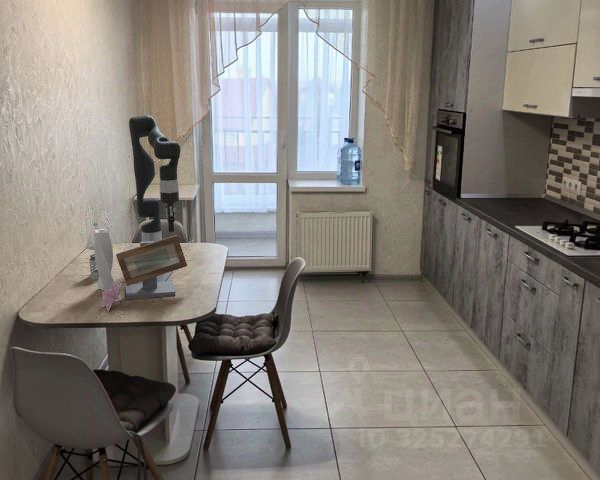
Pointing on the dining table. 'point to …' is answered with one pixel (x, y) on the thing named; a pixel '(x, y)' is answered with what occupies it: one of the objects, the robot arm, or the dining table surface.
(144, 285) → the display stand
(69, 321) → the dining table surface
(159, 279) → the play button award
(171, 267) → the picture frame
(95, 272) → the french press
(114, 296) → the lily
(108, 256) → the skyscraper
